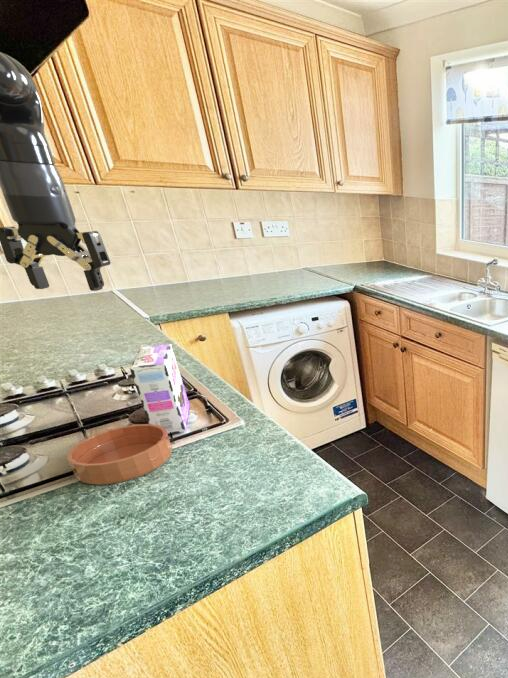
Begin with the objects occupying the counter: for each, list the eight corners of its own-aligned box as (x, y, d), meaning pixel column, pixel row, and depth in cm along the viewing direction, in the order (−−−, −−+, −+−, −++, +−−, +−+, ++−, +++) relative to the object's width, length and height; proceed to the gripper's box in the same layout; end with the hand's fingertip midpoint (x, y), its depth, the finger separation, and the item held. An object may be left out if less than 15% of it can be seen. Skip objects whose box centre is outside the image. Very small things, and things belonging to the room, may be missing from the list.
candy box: (186, 432, 92) (165, 363, 85) (152, 438, 89) (127, 367, 82) (191, 405, 102) (172, 342, 96) (160, 410, 100) (138, 345, 93)
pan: (54, 488, 74) (44, 467, 72) (110, 444, 87) (103, 425, 85) (145, 483, 76) (138, 463, 74) (187, 441, 89) (181, 423, 87)
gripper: (100, 196, 75) (127, 286, 81) (5, 189, 72) (41, 283, 79) (67, 196, 68) (100, 295, 75) (-39, 189, 66) (4, 292, 72)
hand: (70, 289), depth 77 cm, fingers open, 8 cm apart
